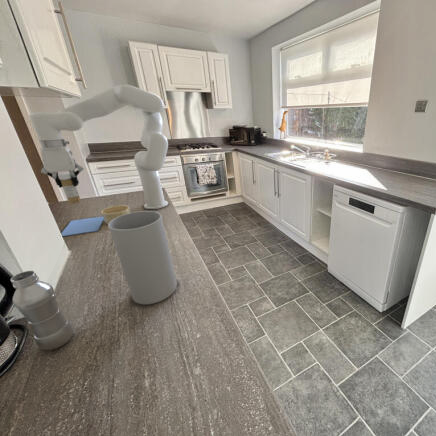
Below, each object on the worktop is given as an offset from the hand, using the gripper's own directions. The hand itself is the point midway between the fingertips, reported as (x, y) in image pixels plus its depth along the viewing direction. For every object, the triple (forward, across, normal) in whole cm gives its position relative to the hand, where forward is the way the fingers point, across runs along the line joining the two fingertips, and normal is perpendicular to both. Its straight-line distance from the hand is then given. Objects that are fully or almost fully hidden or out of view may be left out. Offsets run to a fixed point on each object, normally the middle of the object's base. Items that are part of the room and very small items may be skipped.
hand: (68, 185), depth 108 cm
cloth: (+20, 0, 0) cm, 20 cm away
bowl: (+20, -14, -1) cm, 25 cm away
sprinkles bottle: (+8, 0, 0) cm, 8 cm away
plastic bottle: (+21, -11, +76) cm, 79 cm away
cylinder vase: (+21, -32, +66) cm, 76 cm away
